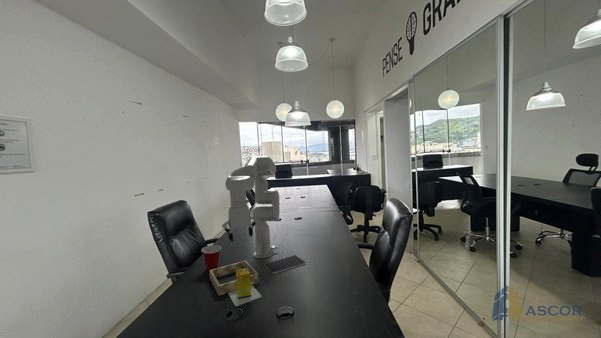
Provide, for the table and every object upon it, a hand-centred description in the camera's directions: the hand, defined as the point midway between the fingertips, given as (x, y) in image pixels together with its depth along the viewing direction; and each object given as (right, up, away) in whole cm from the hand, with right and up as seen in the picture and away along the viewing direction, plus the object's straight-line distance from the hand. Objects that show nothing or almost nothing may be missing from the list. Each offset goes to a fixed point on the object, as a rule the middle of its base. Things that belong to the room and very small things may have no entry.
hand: (241, 238), depth 119 cm
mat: (+3, -25, -7) cm, 26 cm away
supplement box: (+3, -24, -7) cm, 25 cm away
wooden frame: (-6, -24, +8) cm, 26 cm away
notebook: (+20, -23, +24) cm, 38 cm away
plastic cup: (-22, -25, +23) cm, 41 cm away
